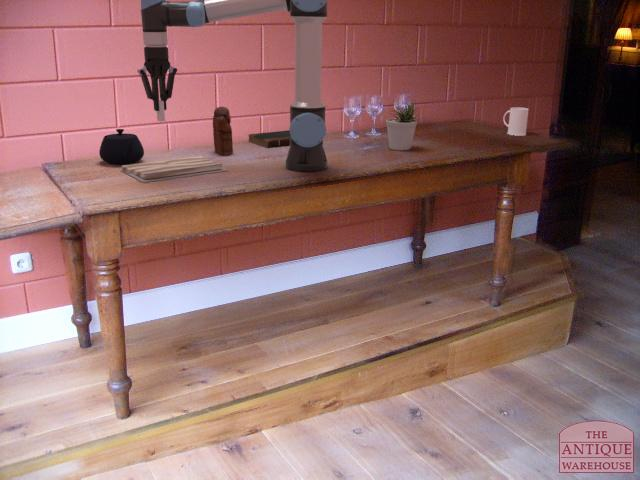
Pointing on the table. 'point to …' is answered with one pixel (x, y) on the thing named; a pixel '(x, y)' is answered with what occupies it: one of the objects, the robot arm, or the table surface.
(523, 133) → the mug
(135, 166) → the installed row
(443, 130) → the table surface
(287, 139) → the book
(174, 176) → the tray
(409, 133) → the potted plant
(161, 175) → the plank
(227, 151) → the wooden figurine
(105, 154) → the teapot
